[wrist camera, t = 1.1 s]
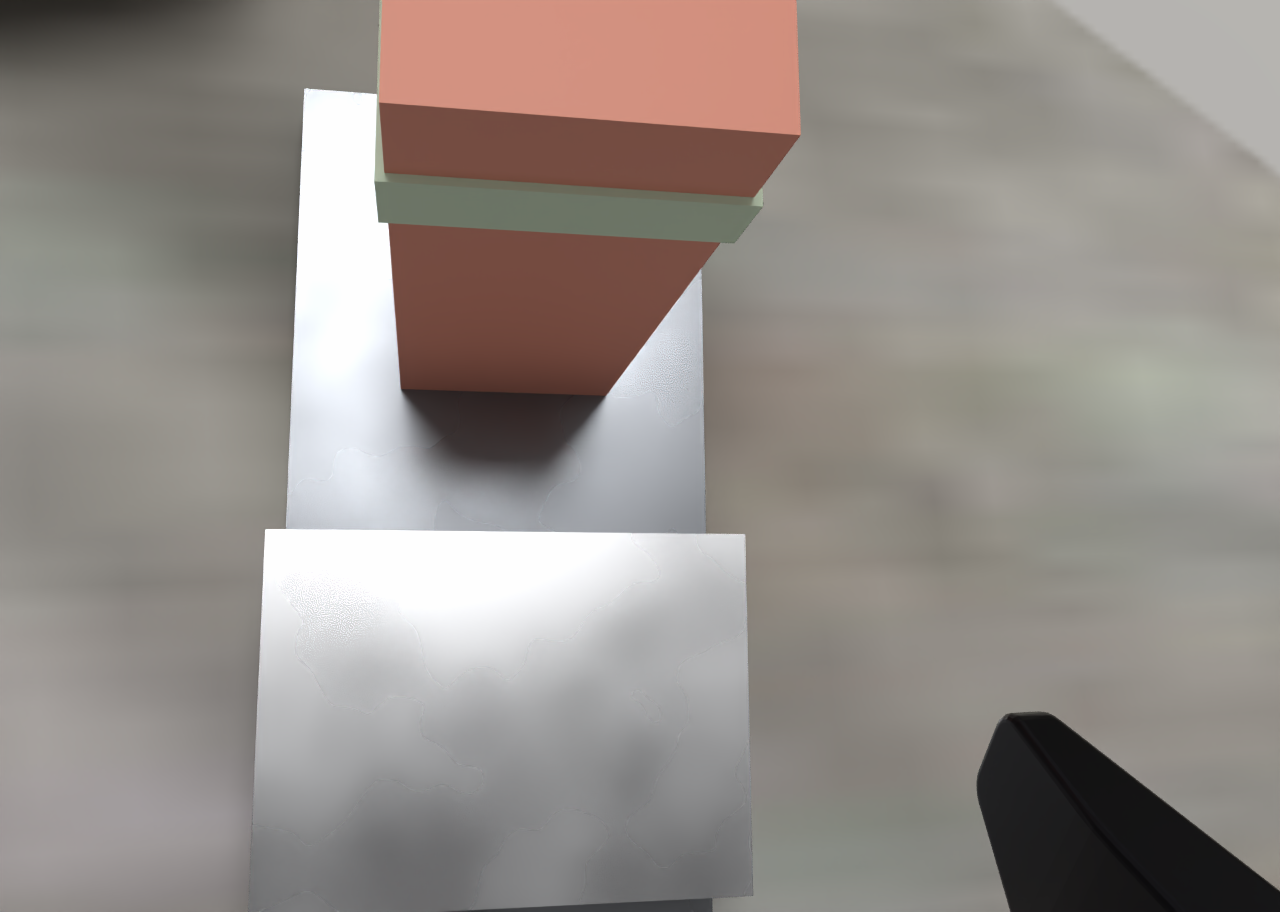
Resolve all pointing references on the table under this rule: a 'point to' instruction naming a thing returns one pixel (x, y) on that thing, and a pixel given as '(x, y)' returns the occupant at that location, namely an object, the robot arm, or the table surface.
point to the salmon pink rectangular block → (567, 174)
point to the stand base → (466, 428)
